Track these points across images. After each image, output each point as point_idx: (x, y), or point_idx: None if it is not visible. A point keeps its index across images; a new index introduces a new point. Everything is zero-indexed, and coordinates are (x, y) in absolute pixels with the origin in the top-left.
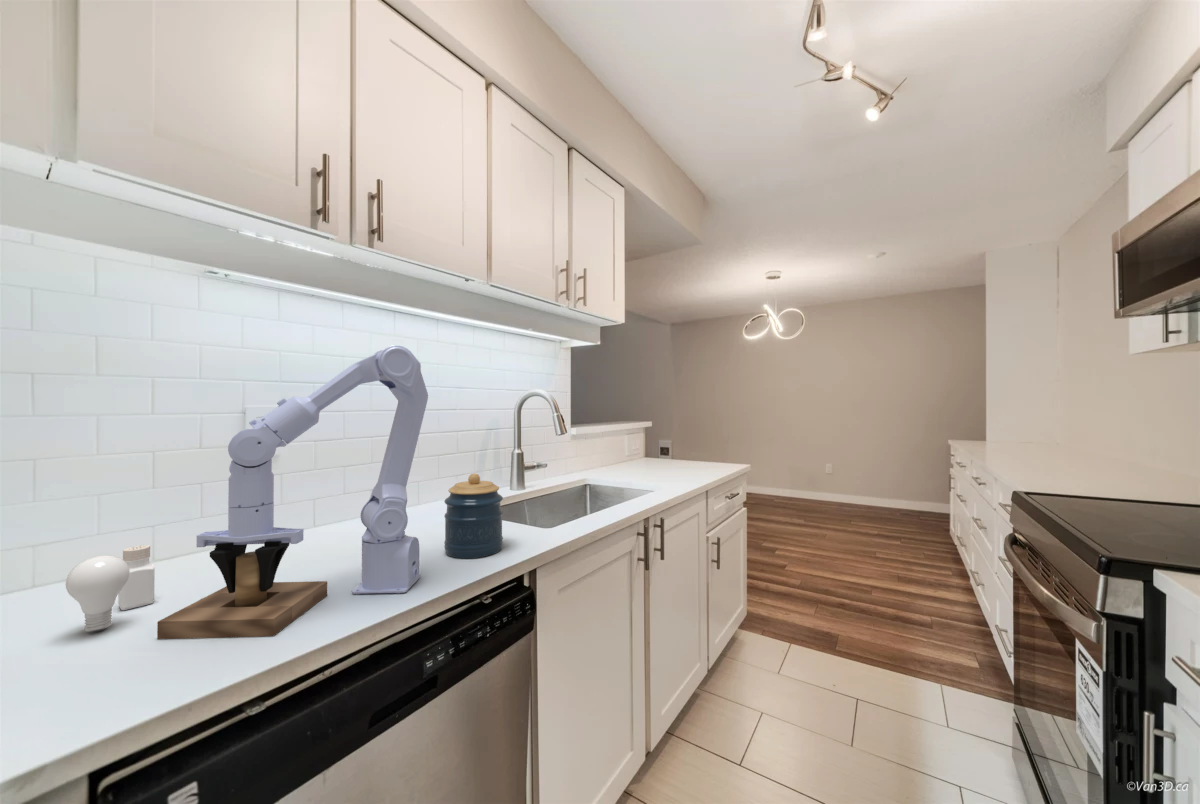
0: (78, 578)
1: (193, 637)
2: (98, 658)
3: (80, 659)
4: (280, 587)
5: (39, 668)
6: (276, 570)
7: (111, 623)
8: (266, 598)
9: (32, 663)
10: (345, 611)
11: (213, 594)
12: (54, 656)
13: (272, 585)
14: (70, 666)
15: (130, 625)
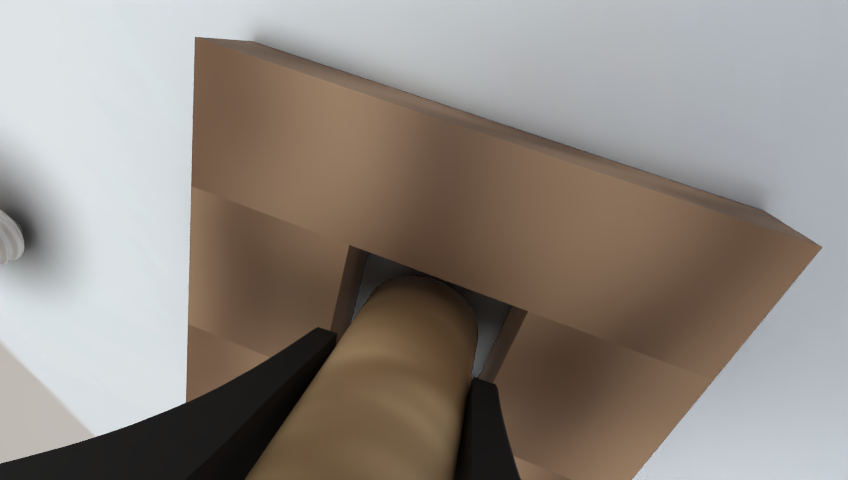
0: None
1: None
2: (165, 404)
3: (129, 390)
4: (512, 238)
5: (84, 394)
6: (512, 460)
7: (14, 224)
8: (475, 343)
9: (47, 363)
10: (833, 441)
11: (205, 204)
12: (58, 348)
13: (497, 393)
14: (138, 414)
15: (69, 219)
